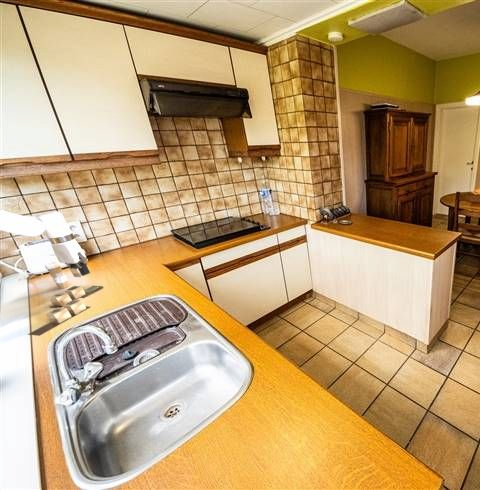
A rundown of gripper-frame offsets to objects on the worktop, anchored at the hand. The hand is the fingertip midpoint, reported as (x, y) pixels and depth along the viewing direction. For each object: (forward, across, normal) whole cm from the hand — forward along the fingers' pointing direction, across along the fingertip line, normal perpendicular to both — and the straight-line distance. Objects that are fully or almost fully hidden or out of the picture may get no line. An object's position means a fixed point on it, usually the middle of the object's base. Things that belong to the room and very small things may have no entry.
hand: (82, 273), depth 127 cm
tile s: (+1, 0, 0) cm, 1 cm away
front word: (+10, +14, -21) cm, 27 cm away
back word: (+10, 0, -6) cm, 12 cm away
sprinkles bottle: (+10, -20, +2) cm, 23 cm away
